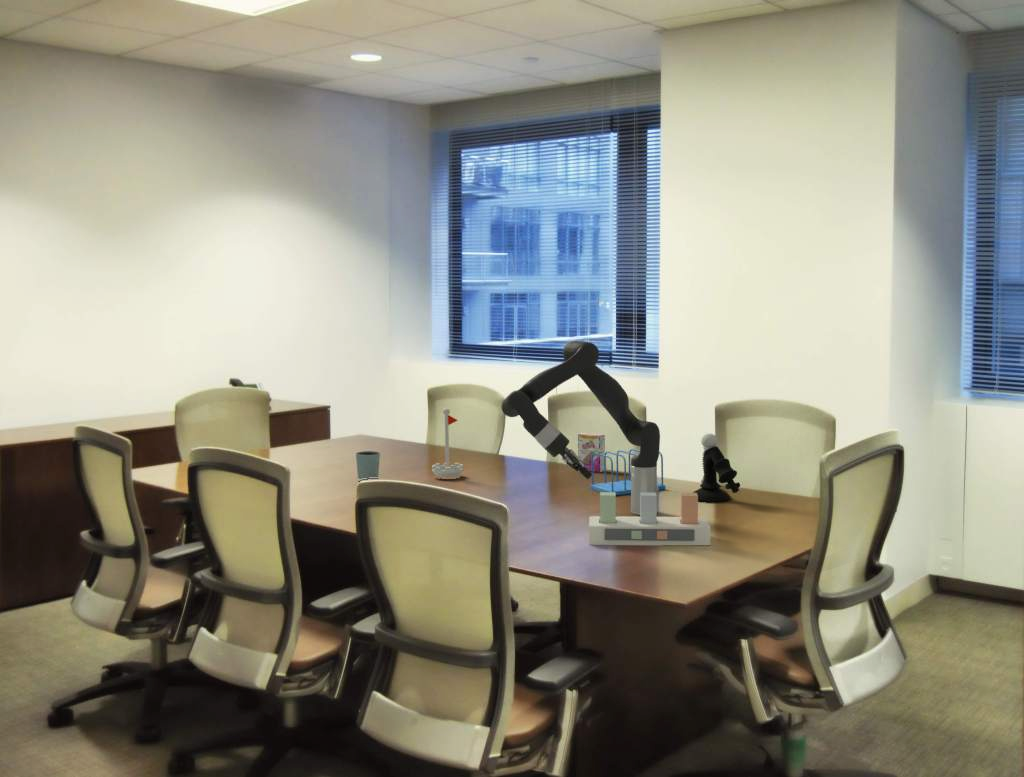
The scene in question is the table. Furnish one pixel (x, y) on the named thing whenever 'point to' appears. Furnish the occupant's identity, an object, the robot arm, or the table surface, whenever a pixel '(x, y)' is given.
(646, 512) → the key grey
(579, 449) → the candy bar box
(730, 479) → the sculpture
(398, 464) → the table surface
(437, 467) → the flag stand
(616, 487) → the file sorter
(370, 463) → the teal tapered cup
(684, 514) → the key terracotta
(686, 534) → the white flat bar
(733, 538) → the table surface
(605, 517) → the key sage
